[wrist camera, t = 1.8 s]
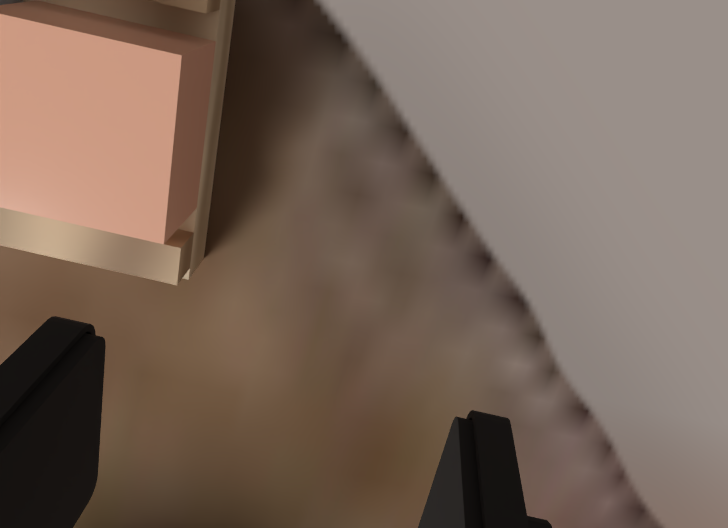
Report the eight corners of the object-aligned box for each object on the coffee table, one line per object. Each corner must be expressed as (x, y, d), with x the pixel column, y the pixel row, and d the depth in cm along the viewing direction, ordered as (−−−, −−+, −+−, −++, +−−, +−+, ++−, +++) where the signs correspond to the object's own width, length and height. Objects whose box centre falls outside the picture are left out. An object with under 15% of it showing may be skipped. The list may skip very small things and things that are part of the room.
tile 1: (215, 41, 23) (181, 55, 20) (196, 207, 25) (163, 244, 22) (38, 0, 23) (-25, 8, 20) (36, 171, 25) (-20, 202, 22)
